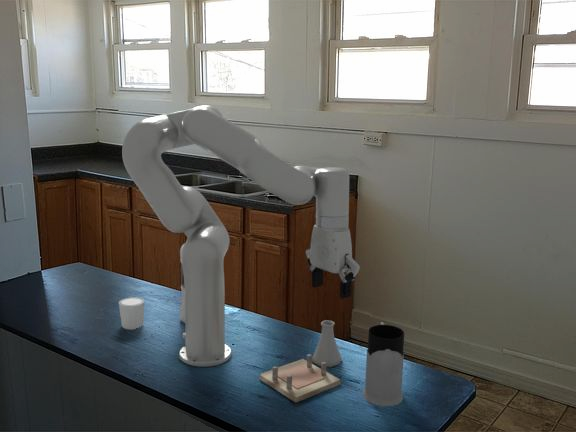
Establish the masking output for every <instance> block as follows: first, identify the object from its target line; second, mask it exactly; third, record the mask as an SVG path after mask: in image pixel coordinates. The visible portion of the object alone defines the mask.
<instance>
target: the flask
mask: <svg viewBox="0 0 576 432" xmlns="http://www.w3.org/2000/svg"><path fill="white" fill-rule="evenodd" d="M335 324H336V323H335V321H333V320H327V319H326V320H323V321H321V323H320V326H321V334H320V337H319V339H318V343H317V345H316V348H315V351H314V353H313V355H312V363H313V364H314V365H316V366H317V367H318V366H319V367H321V363H322V362H326V363H327V368H333V367H335V366H339V365H340V363H341V362H342V360H343V359H342V355H341V353H340V350H339V348H338V344H337V341H336V338H335V333H334V327H335Z"/></svg>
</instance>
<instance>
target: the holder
mask: <svg viewBox="0 0 576 432" xmlns="http://www.w3.org/2000/svg"><path fill="white" fill-rule="evenodd" d="M367 340H368V341H367V349H366V361H365V363H366V364H365V382H364V389H363V391H362V397H363V399H364V398H365V399H366V400H367V402H368V403H369V404H372V405H374V404H375V405H376V406H380V407H394V406H397V405H400V404H401V403H402V401H403V399H404V395H403V393H402V389H403V388H402V387H403V375H404V374H403V373H404V372H403V371H404V357H405V352H404V345H405V331H404V330H403V329H402V328H400V327H398V326H394V325H391V324H385V323H384V322H380V324H376V325H373V326H370V328H369V329H368V339H367ZM365 399H364V400H365ZM366 400H365V401H366Z"/></svg>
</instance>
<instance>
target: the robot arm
mask: <svg viewBox="0 0 576 432" xmlns="http://www.w3.org/2000/svg"><path fill="white" fill-rule="evenodd" d="M191 145H193V146H194V145H196V146H197V147H199V148H201V149H202V150H205V151H206V152H208V153H209V154H211V155H213V156H214V157H217V159H219V160H221V161H223V162H225V163H226V164H228V165H230V166H231V167H233V168H235V169H236V170H238V171H239V172H240V173H241V174H242V175H244V176H245V177H247V178H248V179H250V180H251V181H252V182H254V183H255V184H256V185H258V186H260V188H263V189H264V190H265V191H267V192H268V193H271V194H272V195H274V196H276V197H278V198H279V199H281V200H282V201H285V202H286V203H288V204H292V205H295V206H296V205H297V206H301V205H305V204H306V203H309V202H310V201H311V200H312V199H313V197H315V215H314V217H315V224H314V225H313V228H312V232H311V239H310V248H308V249H306V250H305V255H306V257H307V262H308V264H309V271H310V272H311V287H312V288H314V289H315V288H318V287H321V286H323V285H324V271H326V272H329V273H331V274H338V276H339V277H340V279H341V281H340V282H339V298H340V299H341V300H343V299H346V298H350V297H351V296H352V289H353V288H352V287H353V286H352V281H354V280H355V278H356V277H357V276H358V273H359V271H360V269H361V266H360V264H358V262H357V261H356V260H354V258H353V250H352V249H353V244H352V237H351V230H350V228H349V222H350V221H349V220H350V219H349V216H350V215H349V213H350V212H349V211H350V205H349V203H350V173H349V170H348V169H345V168H343V167H335V166H334V167H331V166H330V167H329V166H328V167H323V168H322V167H313V166H309V165H308V166H305V165H296V166H292V165H291V164H289V163H287V162H286V161H284V160H282V159H281V158H279V157H278V156H276V155H275V154H274V153H273V152H271V151H270V150H269V149H268V148H267V147H266V146H265V145H264V144H263V142H262V141H261V140H260V138H258V137H257V136H256V135H254V134H253V133H251V132H249V131H247V130H246V129H244V128H242V127H240V126H239V125H237V124H235V123H233V122H232V121H230V120H228V119H227V118H225V117H224V116H223V115H222V113H221V112H220V110H218V108H216V107H215V106H212V105H206V104H203V105H199V106H195V107H193V108H192V107H191V108H188V109H185V110H180V111H175V112H170V113H166V114H161V115H157V116H156V115H155V116H151V117H147V118H143V119H141V120H139V121H138V122H136V123H135V124H133V125H132V126H131V128H129V130H128V132H127V133H126V135H125V136H124V141H123V143H122V149H121V156H122V161H123V165H124V167H125V169H126V172H127V173H128V175H129V177H130V179H132V181H133V182H134V184H135V185H136V187H137V188H138V190H139V191H140V192H141V193H142V195H143V197H144V199H145V201H147V203H148V204H149V206H150V207H151V209H152V210H153V212H154V213H155V215H156V216H157V217H158V219H159V220H160V222H161V223H162V225H163V226H164V228H166V229H167V230H168V231H170V232H172V233H175V234H182V233H184V235H185V237H186V238H187V239H186V240H185V243H183V244H184V247H183V250H182V266H183V273H184V290H185V323H184V324H185V325H184V326H185V327H184V329H185V332H183V333H182V334H181V337H182V338H183V339H184V340H185V341H184V342H185V345H184V346H183V347H181V349H180V350H179V355H178V356H179V359H180V361H182V362H183V363H184V364H187V365H190V366H194V367H200V368H201V367H204V368H205V367H214V366H218V365H221V364H223V363H225V362H227V361H228V360H229V359H230V358H231V357H232V349H231V347H230V345H227V344H226V329H225V327H226V323H225V322H226V321H225V320H226V319H225V318H226V313H225V312H226V310H225V309H226V308H225V306H226V305H225V303H226V302H225V297H226V294H225V272H224V271H225V270H224V259H225V256H226V253H227V252H228V250H229V247H230V243H231V242H230V241H231V240H230V235H229V232H228V230H227V229H226V227H225V225H224V224H223V222H222V220H221V219H220V218H219V217H218V215H217V214H216V212H215V211H214V209H213V207H212V205H211V204H210V203H209V202H208V200H207V198H205V196H204V195H203V194H202V193H201V192H200V191H198V189H195V188H193V187H191V186H186V185H185V186H182V184H181V183H180V182H179V180H178V179H177V178H176V176H175V174H174V172H173V171H172V170H171V168H170V167H169V166H168V165H167V164H166V163H165V162H164V161H163V158H162V154H163V153H165V152H168V151H170V150H174V149H177V148H182V147H187V146H191Z"/></svg>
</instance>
